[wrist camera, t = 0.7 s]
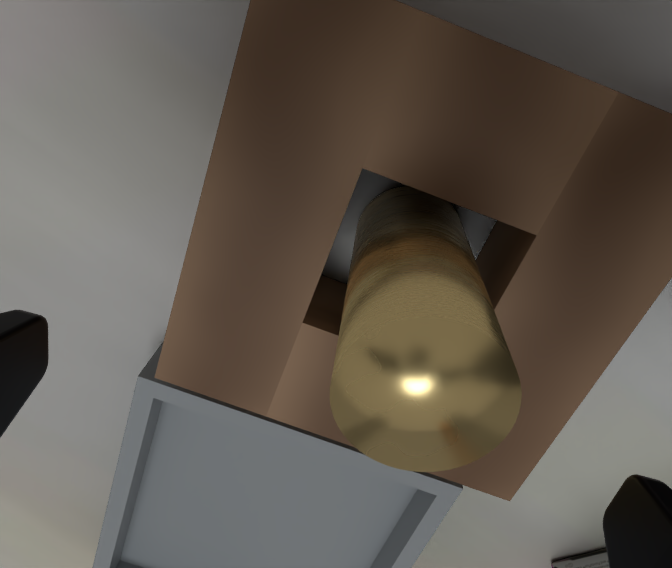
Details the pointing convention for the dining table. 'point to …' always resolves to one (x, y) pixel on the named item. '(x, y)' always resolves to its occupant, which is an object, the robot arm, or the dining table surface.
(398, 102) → the hitch block
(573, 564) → the candy bar box
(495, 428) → the pin
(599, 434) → the dining table surface
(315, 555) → the tray
